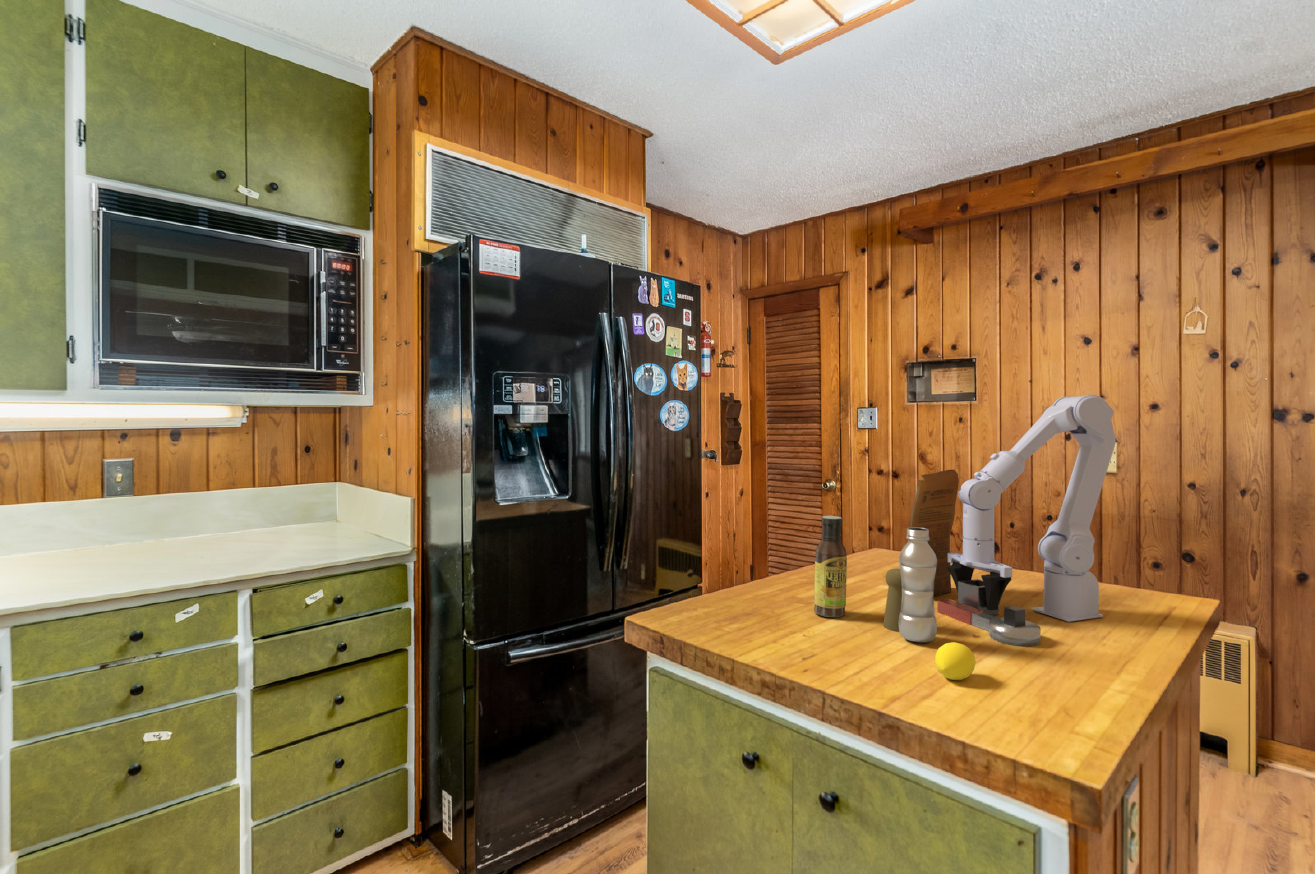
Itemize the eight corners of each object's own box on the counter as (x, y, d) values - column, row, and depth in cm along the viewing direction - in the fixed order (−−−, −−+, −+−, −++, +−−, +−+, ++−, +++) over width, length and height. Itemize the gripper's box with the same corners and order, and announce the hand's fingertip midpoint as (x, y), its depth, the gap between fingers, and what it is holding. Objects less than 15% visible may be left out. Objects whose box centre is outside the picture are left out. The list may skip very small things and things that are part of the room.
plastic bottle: (935, 635, 113) (935, 526, 113) (939, 648, 107) (939, 533, 106) (897, 632, 115) (897, 525, 115) (898, 644, 109) (899, 531, 108)
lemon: (962, 692, 91) (960, 657, 90) (927, 680, 95) (925, 647, 95) (985, 674, 95) (982, 640, 94) (950, 663, 99) (948, 631, 99)
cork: (920, 633, 115) (920, 574, 114) (885, 631, 116) (885, 572, 116) (913, 622, 121) (913, 566, 120) (880, 620, 122) (880, 565, 122)
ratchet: (958, 609, 129) (958, 582, 129) (1051, 643, 109) (1051, 612, 109) (927, 613, 126) (927, 586, 126) (1016, 648, 107) (1016, 616, 106)
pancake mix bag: (969, 590, 143) (969, 469, 142) (920, 604, 132) (920, 473, 132) (941, 584, 149) (942, 467, 148) (892, 597, 138) (893, 471, 137)
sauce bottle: (827, 620, 122) (827, 520, 122) (807, 611, 128) (807, 515, 127) (853, 616, 125) (853, 518, 124) (833, 608, 130) (833, 513, 130)
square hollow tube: (977, 607, 130) (977, 579, 130) (998, 614, 125) (998, 585, 125) (957, 609, 128) (958, 581, 128) (978, 617, 123) (978, 587, 123)
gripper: (936, 533, 132) (935, 596, 132) (992, 546, 118) (992, 616, 119) (962, 531, 134) (962, 593, 135) (1020, 543, 120) (1020, 613, 121)
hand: (977, 604), depth 127 cm, fingers open, 7 cm apart
